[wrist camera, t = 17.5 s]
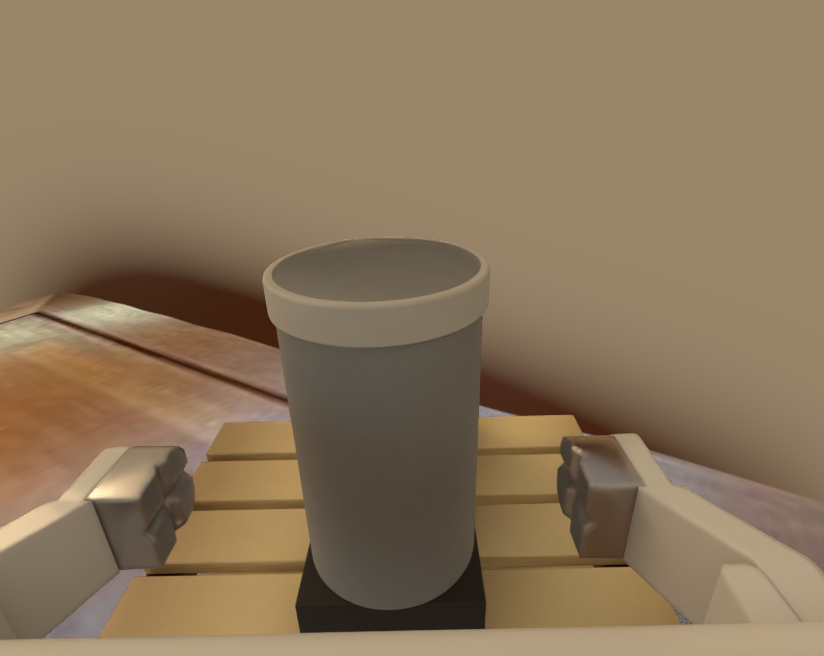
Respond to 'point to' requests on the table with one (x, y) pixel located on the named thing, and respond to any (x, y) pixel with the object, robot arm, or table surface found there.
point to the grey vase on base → (385, 428)
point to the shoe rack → (289, 541)
